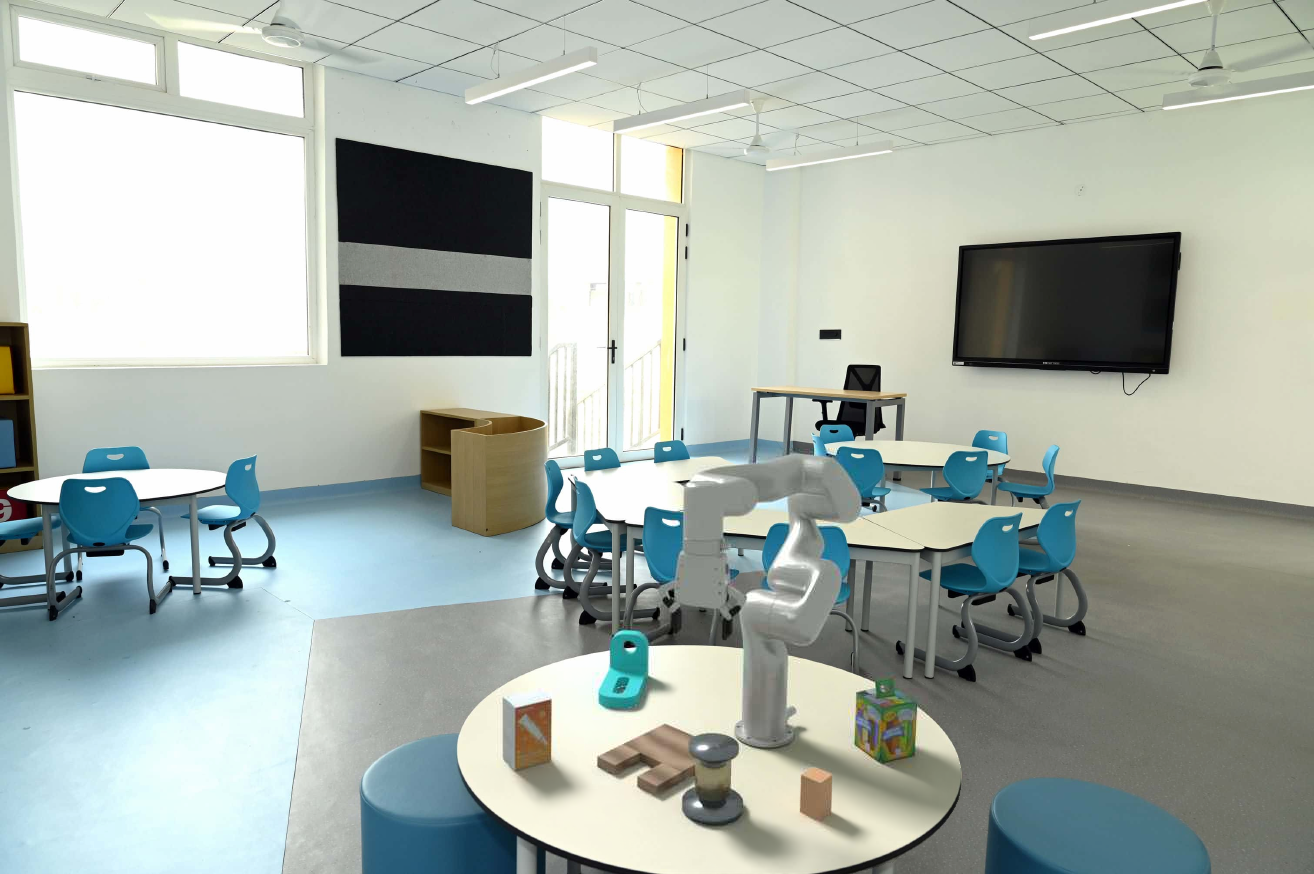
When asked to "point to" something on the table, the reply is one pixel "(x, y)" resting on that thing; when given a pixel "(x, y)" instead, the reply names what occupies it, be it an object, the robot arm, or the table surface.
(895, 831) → the table surface
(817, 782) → the light orange block
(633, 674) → the bracket
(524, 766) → the small box
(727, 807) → the bobbin
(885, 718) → the chalk box
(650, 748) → the notched board
